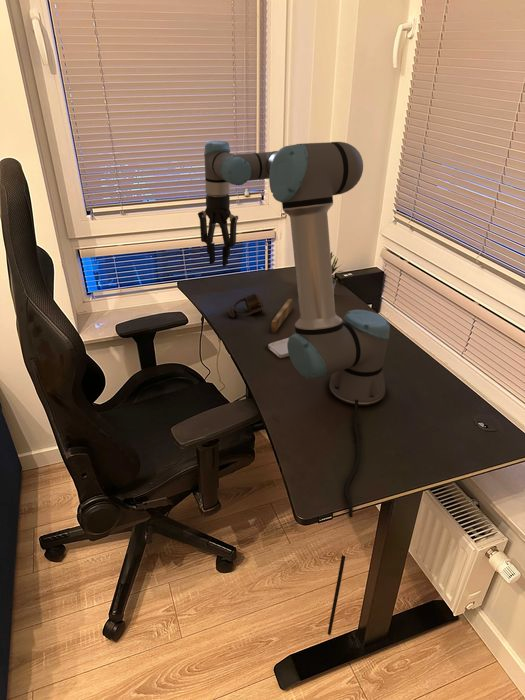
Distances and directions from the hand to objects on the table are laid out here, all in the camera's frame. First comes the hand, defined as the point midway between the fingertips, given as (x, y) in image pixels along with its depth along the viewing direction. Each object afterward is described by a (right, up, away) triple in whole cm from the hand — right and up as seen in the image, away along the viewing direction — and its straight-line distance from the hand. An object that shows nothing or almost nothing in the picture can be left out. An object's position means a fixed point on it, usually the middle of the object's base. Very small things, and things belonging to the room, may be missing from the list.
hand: (218, 263), depth 170 cm
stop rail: (+21, -19, +2) cm, 29 cm away
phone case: (+25, -28, -12) cm, 40 cm away
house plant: (+38, -8, +21) cm, 44 cm away
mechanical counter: (+9, -16, +6) cm, 20 cm away
